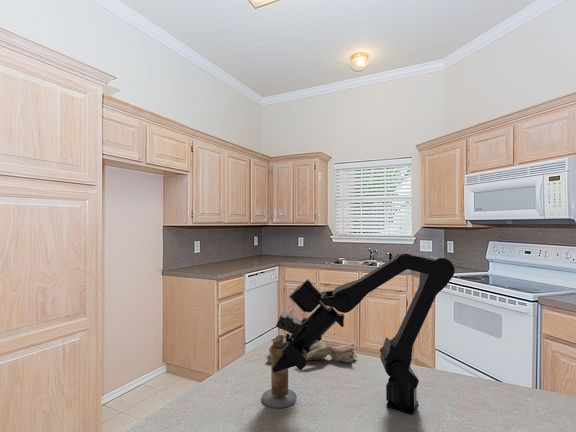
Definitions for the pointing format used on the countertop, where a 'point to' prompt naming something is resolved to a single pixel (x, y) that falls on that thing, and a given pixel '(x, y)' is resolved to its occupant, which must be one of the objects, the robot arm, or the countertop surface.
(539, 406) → the countertop surface
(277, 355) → the pepper mill
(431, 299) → the robot arm
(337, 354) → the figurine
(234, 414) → the countertop surface
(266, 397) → the coaster
